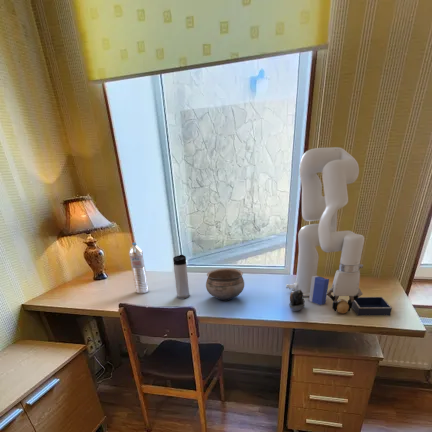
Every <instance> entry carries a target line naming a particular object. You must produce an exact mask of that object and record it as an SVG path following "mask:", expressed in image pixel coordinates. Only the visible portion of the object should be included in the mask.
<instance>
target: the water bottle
mask: <svg viewBox="0 0 432 432" xmlns="http://www.w3.org/2000/svg"><path fill="white" fill-rule="evenodd" d="M131 244H132V246H131V247H130V249H129V250H128V255H129V260H130V265H131V272H132V278H133V283H134V289H135V293H137V294H142V295H143V294H146V293H149V283H148V278H147V272H146V266H145V261H144V255H143V253H144V252H143V249H141V248H140V247H139V246H138V245H137V242H132V243H131Z"/></svg>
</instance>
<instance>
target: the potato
mask: <svg viewBox="0 0 432 432" xmlns="http://www.w3.org/2000/svg"><path fill="white" fill-rule="evenodd" d="M337 303H338V304H337V310H336V312H338V313H339V314H346V313H347V312H349V311H348V310H349V305H348V300H346V299H343V298H338V300H337Z"/></svg>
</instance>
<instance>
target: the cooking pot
mask: <svg viewBox="0 0 432 432" xmlns="http://www.w3.org/2000/svg"><path fill="white" fill-rule="evenodd" d="M243 275H244V272H243V271H242V270H240V269H236V268H217V269H212V270H210V271H208V272H206V276H207V277H206V278H207V279H206V282H205V288H206V291H207V292H208V294H209V295H211V297H213V298H215V299H218V300H220V301H230V300H232V299H234V298H236V297H238V296H239V295H240V294H242V292H243V291H244V289H245V279H244V277H243Z"/></svg>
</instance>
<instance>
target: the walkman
mask: <svg viewBox="0 0 432 432" xmlns="http://www.w3.org/2000/svg"><path fill="white" fill-rule="evenodd" d="M329 284H330V279H329V278H328V277H323V276H319V275H316V276H312V282H311V289H310V296H308V298H309V299H308V301H309V302H310V303H314V304H317V305H319V306H322V305H325V304H326V302H327V297H328V296H327V294H326V293H327V292H328V291H329Z"/></svg>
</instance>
